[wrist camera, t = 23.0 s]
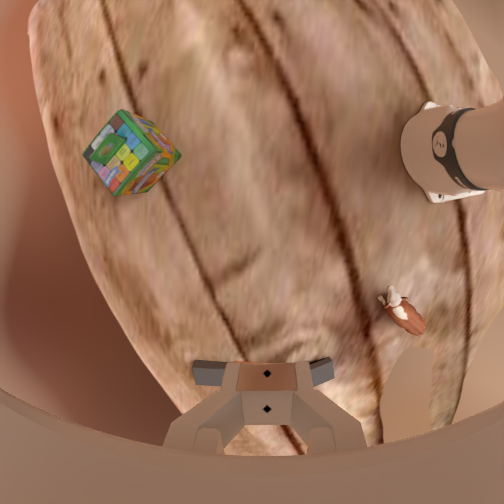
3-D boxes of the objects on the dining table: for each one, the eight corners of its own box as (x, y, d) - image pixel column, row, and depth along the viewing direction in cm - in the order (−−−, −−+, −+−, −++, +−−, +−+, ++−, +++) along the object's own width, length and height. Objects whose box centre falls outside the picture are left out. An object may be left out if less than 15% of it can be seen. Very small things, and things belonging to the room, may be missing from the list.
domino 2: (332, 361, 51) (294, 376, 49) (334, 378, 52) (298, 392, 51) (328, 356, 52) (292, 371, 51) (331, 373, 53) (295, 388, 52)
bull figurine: (381, 269, 47) (399, 286, 39) (416, 312, 48) (434, 332, 41) (364, 286, 48) (379, 306, 40) (401, 327, 50) (417, 348, 42)
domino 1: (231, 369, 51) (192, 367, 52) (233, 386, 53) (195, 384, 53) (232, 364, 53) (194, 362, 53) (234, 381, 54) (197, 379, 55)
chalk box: (147, 192, 46) (101, 202, 31) (117, 156, 44) (66, 155, 30) (184, 155, 43) (147, 149, 29) (152, 119, 42) (107, 102, 28)
